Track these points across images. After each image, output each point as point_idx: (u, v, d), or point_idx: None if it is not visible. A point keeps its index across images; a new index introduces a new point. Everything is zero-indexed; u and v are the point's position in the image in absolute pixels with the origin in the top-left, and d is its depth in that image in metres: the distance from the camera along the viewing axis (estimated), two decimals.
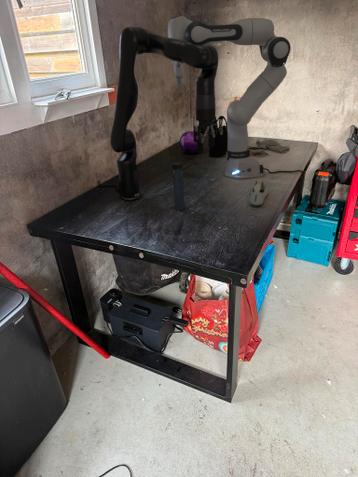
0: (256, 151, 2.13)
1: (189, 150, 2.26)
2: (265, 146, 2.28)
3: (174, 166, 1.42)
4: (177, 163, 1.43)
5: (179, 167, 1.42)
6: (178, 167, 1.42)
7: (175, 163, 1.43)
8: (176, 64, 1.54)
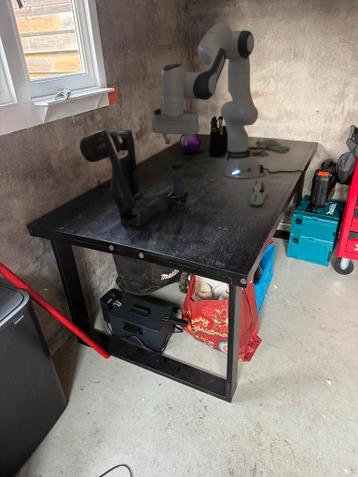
0: (256, 151, 2.13)
1: (189, 150, 2.26)
2: (265, 146, 2.28)
3: (174, 166, 1.42)
4: (177, 163, 1.43)
5: (179, 167, 1.42)
6: (178, 167, 1.42)
7: (175, 163, 1.43)
8: (194, 119, 1.29)
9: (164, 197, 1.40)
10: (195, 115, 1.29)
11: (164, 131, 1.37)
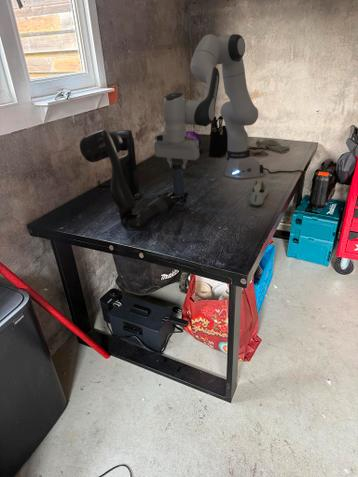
0: (256, 151, 2.13)
1: None
2: (265, 146, 2.28)
3: (174, 166, 1.42)
4: (177, 163, 1.43)
5: (179, 167, 1.42)
6: (178, 167, 1.42)
7: (175, 163, 1.43)
8: (195, 146, 1.34)
9: (164, 197, 1.40)
10: (196, 142, 1.34)
11: (166, 155, 1.42)
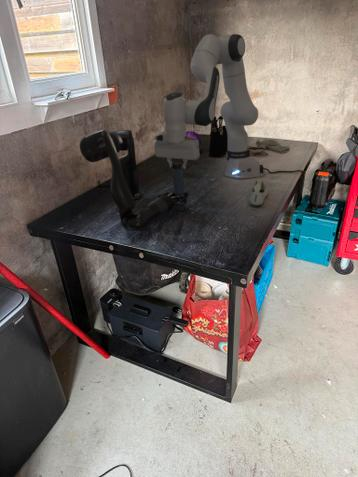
0: (256, 151, 2.13)
1: None
2: (265, 146, 2.28)
3: None
4: (177, 163, 1.43)
5: None
6: None
7: (177, 163, 1.42)
8: (195, 146, 1.34)
9: (164, 197, 1.40)
10: (196, 141, 1.34)
11: (166, 155, 1.42)
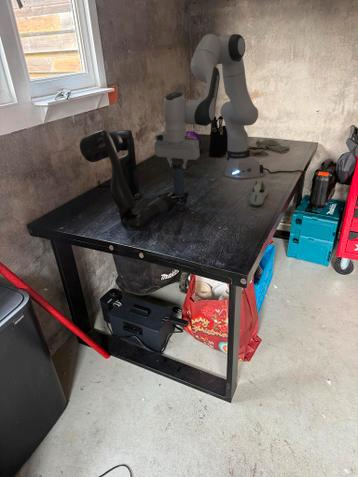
0: (256, 151, 2.13)
1: None
2: (265, 146, 2.28)
3: None
4: (177, 162, 1.43)
5: None
6: None
7: (179, 162, 1.43)
8: (195, 145, 1.34)
9: (164, 197, 1.40)
10: (196, 141, 1.34)
11: (166, 155, 1.42)
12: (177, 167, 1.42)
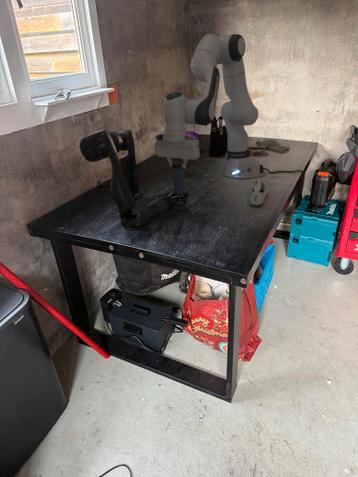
0: (256, 151, 2.13)
1: None
2: (265, 146, 2.28)
3: None
4: (177, 162, 1.43)
5: (173, 166, 1.43)
6: (173, 166, 1.43)
7: (177, 162, 1.44)
8: (195, 145, 1.34)
9: (164, 197, 1.40)
10: (196, 141, 1.34)
11: (166, 155, 1.42)
12: None
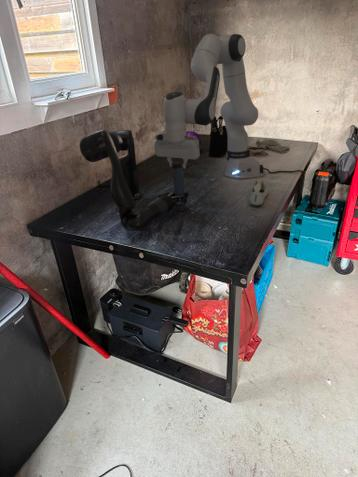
0: (256, 151, 2.13)
1: None
2: (265, 146, 2.28)
3: (175, 165, 1.42)
4: (177, 162, 1.43)
5: (180, 166, 1.42)
6: (179, 166, 1.42)
7: (175, 162, 1.43)
8: (195, 145, 1.34)
9: (164, 197, 1.40)
10: (196, 141, 1.34)
11: (166, 155, 1.42)
12: None
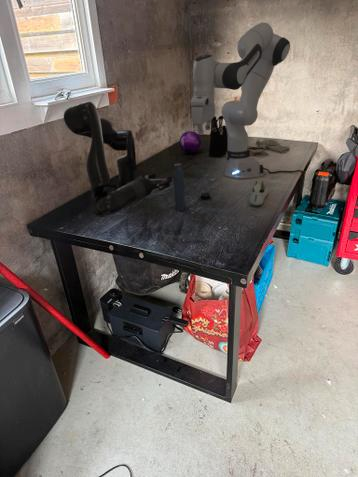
0: (256, 151, 2.13)
1: (189, 150, 2.26)
2: (265, 146, 2.28)
3: (209, 196, 1.62)
4: (205, 194, 1.62)
5: None
6: None
7: (205, 194, 1.61)
8: None
9: (141, 179, 1.25)
10: None
11: (205, 120, 1.40)
12: (201, 197, 1.63)
